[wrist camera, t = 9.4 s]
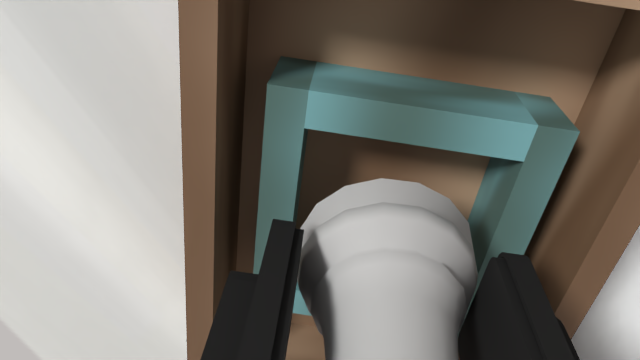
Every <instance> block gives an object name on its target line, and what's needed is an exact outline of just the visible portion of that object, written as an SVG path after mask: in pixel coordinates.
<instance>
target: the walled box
mask: <svg viewBox="0 0 640 360" xmlns="http://www.w3.org/2000/svg"><path fill="white" fill-rule="evenodd" d="M178 10H179V49H180V89H181V128H182V167H183V207H184V246H185V285H186V324H187V360H200V359H201V356H202V353H203V350H204V347H205V344H206V341H207V338H208V335H209V332H210V329H211V326H212V323H213V320H214V317H215V314H216V311H217V308H218V305H219V302H220V299H221V296H222V293H223V290H224V287H225V284H226V281H227V278H228V275H229V273H230V271H238V272H245V273H252V274H259V271H260V267H261V263H262V259H263V255H264V251H265V247H266V243H267V239H268V235H269V232H270V228H271V224H272V220H273V219H279V220H285V221H292V222H296V228H297V229H300V228H301V227H302V225H303V224H304V222H305V221H306V219H307V218H308V216H309V215H310V213H311V212H312V210H313V209H314V207H315V206H316V204H317V203H319V202H321V201H322V200H324V199H325V198H327V197H328V196H330V195H332V194H333V193H335V192H336V191H338V190H339V189H341V188H343V187H344V186H347V185H352V184H356V183H361V182H366V181H370V180H375V179H380V178H384V179H392V180H400V181H409V182H417V183H420V184H422V185H424V186H426V187H428V188H430V189H432V190H434V191H436V192H438V193H440V194H441V195H443V196H445V197H447V198H449V199H450V200H451V201H452V202H453V204H454V205H455V206H456V207H457V209H458V210H459V211H460V212H461V214H462V215H463V216H464V217H465V219H466V220H467V221H468V222H469V227H470V233H471V238H472V244H473V249H474V255H475V261H476V266H477V272H478V277H477V286H476V289H475V291H474V294H473V297H472V299H471V302H470V305H469V307H468V311H469V308H470V306H471V303H472V301H473V299H474V296H475V294H476V291H477V289H478V287H479V284H480V282H481V279H482V277H483V275H484V272H485V270H486V268H487V265H488V263H489V261H490V259H491V258H492V257H498V255H499V254H500V253H502V252H506V253H513V254H519V255H526V256H528V257H529V259H530V260H531V262H532V265H533V267H534V269H535V271H536V274H537V276H538V278H539V280H540V283H541V285H542V287H543V289H544V291H545V294H546V296H547V298H548V300H549V303H550V305H551V307H552V309H553V312H554V314H555V316H556V317H557V318H558V319H559V320H561V322H562V323H563V325H564V326H565V329H566V331H567V333H568V335H569V337H570V339H572V337H573V335H574V334H575V332H576V330H577V329H578V327H579V325H580V324H581V322H582V320H583V319H584V317H585V315H586V314H587V312H588V310H589V309H590V307H591V305H592V304H593V302H594V300H595V299H596V297H597V295H598V294H599V292H600V290H601V289H602V287H603V285H604V284H605V282H606V280H607V279H608V277H609V275H610V274H611V272H612V270H613V269H614V267H615V265H616V263H617V262H618V260H619V258H620V257H621V255H622V253H623V252H624V250H625V248H626V247H627V245H628V243H629V242H630V240H631V238H632V237H633V235H634V233H635V232H636V230H637V228H638V227H639V225H640V0H178ZM468 311H467V313H468ZM466 315H467V314H466ZM465 318H466V316H465ZM464 320H465V319H464ZM463 323H464V321H463ZM462 325H463V324H462ZM460 330H461V329H460ZM459 332H460V331H459ZM459 332H458V335H459ZM285 360H325V349H324V339H323V335H321V334H320V333H319V331H318V329H317V327H316V324H315V322H314V320H313V317H312V315H311V314H310V313H309V311H308V309H307V306H306V304H305V302H304V299H303V297H302V295H301V292H300V290H299V286H298V282H297V285H296V292H295V299H294V306H293V313H292V320H291V327H290V333H289V340H288V346H287V353H286V359H285ZM458 360H460V357H459V352H458Z"/></svg>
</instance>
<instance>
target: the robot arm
mask: <svg viewBox="0 0 640 360" xmlns="http://www.w3.org/2000/svg"><path fill="white" fill-rule="evenodd" d="M303 235H304V229H297V228H296V222H292V221H285V220H279V219H273V220H272V224H271V228H270V232H269V235H268V239H267V243H266V247H265V251H264V255H263V259H262V263H261V267H260V271H259V274H252V273H245V272H238V271H230V273H229V275H228V278H227V281H226V284H225V287H224V290H223V293H222V296H221V299H220V302H219V305H218V308H217V311H216V314H215V317H214V320H213V323H212V326H211V329H210V332H209V335H208V338H207V341H206V344H205V347H204V350H203V353H202V356H201V359H200V360H285V359H286V353H287V346H288V340H289V333H290V327H291V320H292V313H293V306H294V299H295V292H296V285H297V278H298V271H299V263H300V256H301V249H302V242H303ZM458 352H459V357H460V360H580V359H579V357H578V355H577V353H576V350H575V348H574V346H573V344H572V342H571V339H570V337H569V335H568V333H567V331H566V329H565V326H564V325H563V323H562V322H561V320H559V319H558V318H557V317H556V316H555V314H554V312H553V309H552V307H551V305H550V303H549V300H548V298H547V296H546V294H545V291H544V289H543V287H542V285H541V283H540V280H539V278H538V276H537V274H536V271H535V269H534V267H533V265H532V262H531V260H530V259H529V257H528V256H526V255H519V254H513V253H506V252H502V253H500V254H499V255H498V257H492V258H491V259H490V261H489V263H488V265H487V268H486V270H485V272H484V275H483V277H482V279H481V282H480V284H479V287H478V289H477V291H476V294H475V296H474V299H473V301H472V303H471V306H470V308H469V311H468V313H467V315H466V318H465V320H464V323H463V325H462V327H461V330H460V332H459V335H458Z"/></svg>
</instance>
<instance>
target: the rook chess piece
mask: <svg viewBox="0 0 640 360" xmlns="http://www.w3.org/2000/svg"><path fill="white" fill-rule="evenodd" d="M300 229H304V235H303V242H302V249H301V256H300V263H299V271H298V278H297V282H298V286H299V290H300V292H301V295H302V297H303V299H304V302H305V304H306V306H307V309H308V311H309V313H310V314H311V315H312V317H313V320H314V322H315V324H316V327H317V329H318V331H319V333H320V334H321V335H323V339H324V349H325V360H458V332H459V331H460V329H461V327H462V324H463V321H464V319H465V316H466V314H467V311H468V307H469V305H470V302H471V299H472V297H473V294H474V291H475V289H476V286H477V277H478V272H477V266H476V261H475V255H474V249H473V244H472V238H471V233H470V227H469V222H468V221H467V220H466V219H465V217H464V216H463V215H462V214H461V212H460V211H459V210H458V209H457V207H456V206H455V205H454V204H453V202H452V201H451V200H450V199H449V198H447V197H445V196H443V195H441V194H440V193H438V192H436V191H434V190H432V189H430V188H428V187H426V186H424V185H422V184H420V183H417V182H409V181H400V180H392V179H384V178H380V179H375V180H370V181H366V182H361V183H356V184H352V185H347V186H344V187H343V188H341V189H339V190H338V191H336V192H335V193H333V194H332V195H330V196H328V197H327V198H325V199H324V200H322V201H321V202H319V203H317V204H316V206H315V207H314V209H313V210H312V212H311V213H310V215H309V216H308V218H307V219H306V221H305V222H304V224H303V225H302V227H301V228H300Z"/></svg>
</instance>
